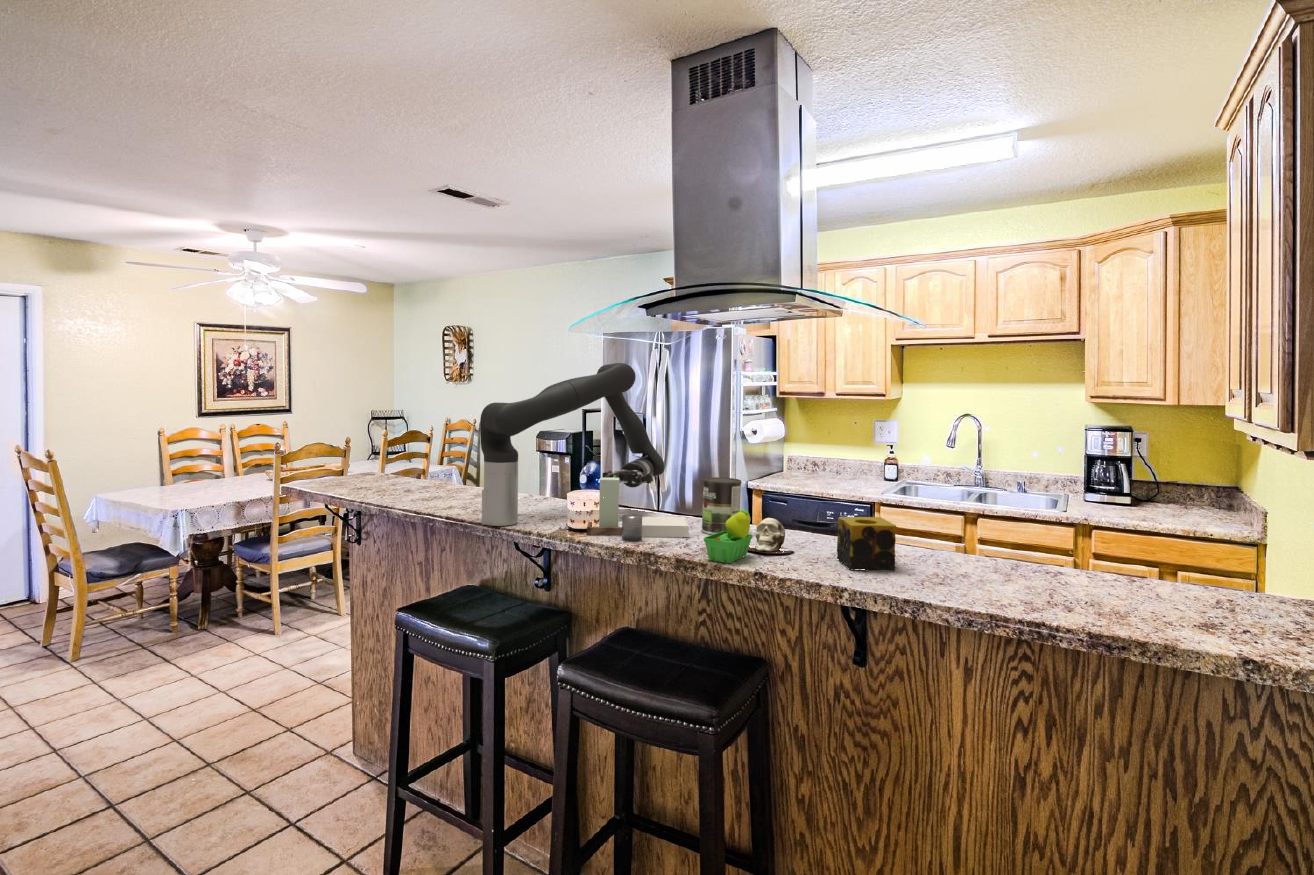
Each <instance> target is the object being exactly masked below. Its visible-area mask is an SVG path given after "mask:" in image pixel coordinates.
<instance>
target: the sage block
mask: <svg viewBox="0 0 1314 875" xmlns="http://www.w3.org/2000/svg"><path fill="white" fill-rule="evenodd" d="M603 497H604V498H603ZM619 501H620V483H619V478H614V477H612V478H603V476H602V477H600V478H599V502H598V503H599V504H598V505H599V506H598V507H599V511H598V514H599V515H598V527H619V522H620V520H619V517H620V516H619V515H620V514H619V511H620V507H619V506H620V502H619Z"/></svg>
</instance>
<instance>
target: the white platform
mask: <svg viewBox="0 0 1314 875" xmlns="http://www.w3.org/2000/svg"><path fill="white" fill-rule="evenodd" d="M689 528H690V526H689V524H688V522H687V519H686V518H685V517H676V516H675V517H671V516H670V517H669V516H667V517H666V516H665V517H664V516H642V538H683V537H688V538H689Z"/></svg>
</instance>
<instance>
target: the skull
mask: <svg viewBox="0 0 1314 875" xmlns="http://www.w3.org/2000/svg"><path fill="white" fill-rule="evenodd" d="M754 536H755V539H756V542H755V545H756V546H755V548H750V547H749V548H748V551H750V552H751V551H752V552H755V551H756V552H758V553H762V554H779V555H781V554H783V553H782V552H783V551H780V550H779V549H780V548H781V547H782V546H783V545H784V542H785V539H786V538H785V537H786V529H785V527H784V526H783V524H782V523H781V522H780V521H779V520H778V519H776V518H773V517H766V518H764V519H762V520H761V521H760V522H759V523H758V524H757V526H756V533H755V534H754ZM756 552H755V553H756ZM776 552H777V553H776ZM784 552H790V553H791V552H792V553H794V552H793V551H784Z"/></svg>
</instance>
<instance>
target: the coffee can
mask: <svg viewBox="0 0 1314 875" xmlns="http://www.w3.org/2000/svg"><path fill="white" fill-rule="evenodd" d="M702 483H703V484H702V485H703V486H702V513H701V514H702V515H701V516H702V518H701V520H702V521H701V532H702V533H703V532H704V533H703V534H707V535H713V534H716V533H719V532H721V531H727V529H726V526H725V523H726V521H727V520H728V519H730V517H732V516H734V515H735V514H737V513H738V512H739V511H740V510H741V497H742V496H741V492H742V480H741V479H738V478H731V477H704V478H703V479H702Z"/></svg>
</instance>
